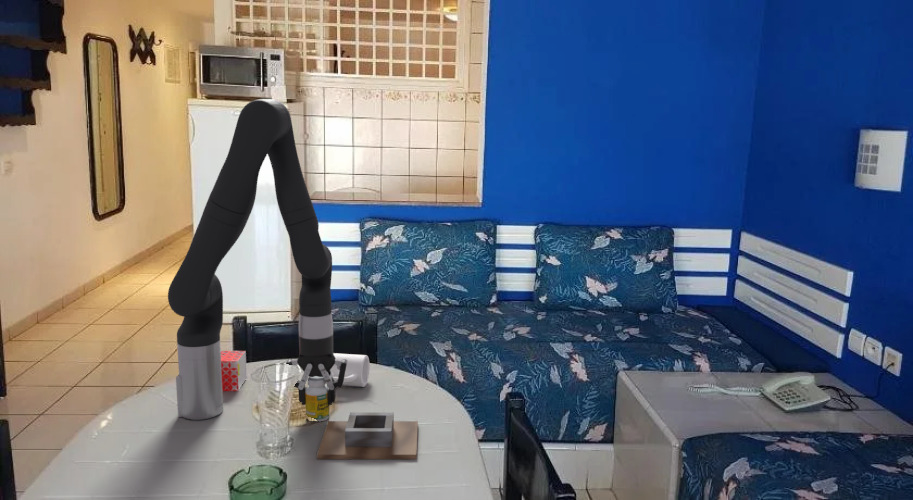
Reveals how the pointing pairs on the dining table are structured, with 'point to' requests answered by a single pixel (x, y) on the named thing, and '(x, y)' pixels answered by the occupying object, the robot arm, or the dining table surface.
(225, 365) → the red patterned cube
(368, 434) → the dock socket
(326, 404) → the supplement bottle
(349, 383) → the mug
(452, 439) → the dining table surface
